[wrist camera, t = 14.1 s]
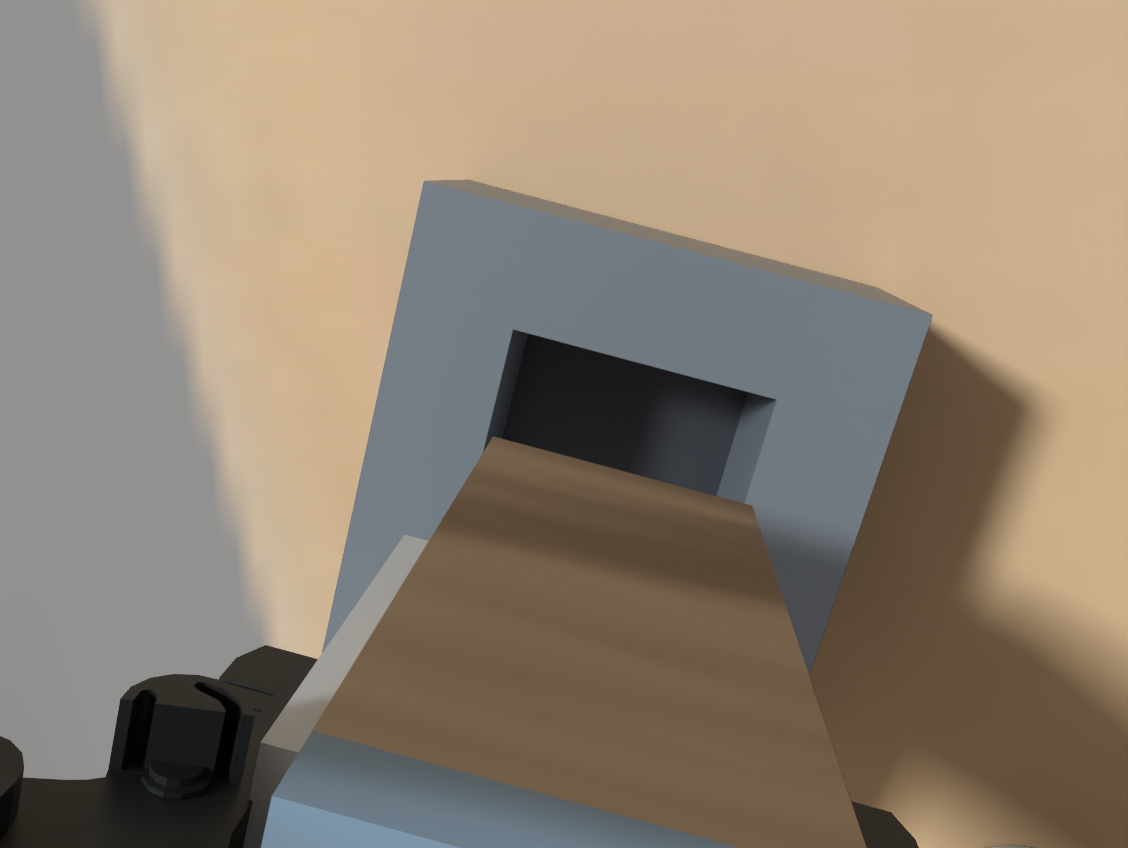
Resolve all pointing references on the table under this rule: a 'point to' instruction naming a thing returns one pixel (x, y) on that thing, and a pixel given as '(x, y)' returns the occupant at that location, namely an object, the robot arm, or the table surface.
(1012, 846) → the coffee cup
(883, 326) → the socket block
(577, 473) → the plug
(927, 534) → the table surface
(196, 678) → the robot arm
